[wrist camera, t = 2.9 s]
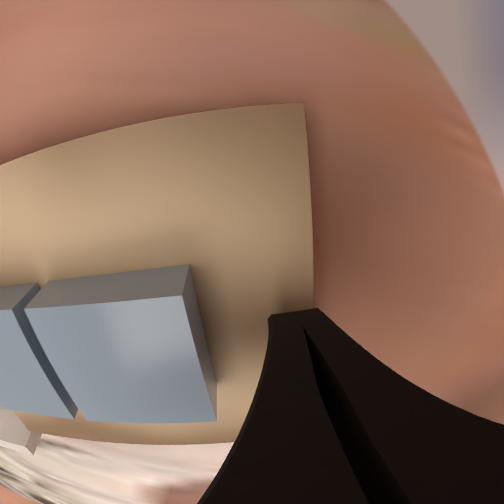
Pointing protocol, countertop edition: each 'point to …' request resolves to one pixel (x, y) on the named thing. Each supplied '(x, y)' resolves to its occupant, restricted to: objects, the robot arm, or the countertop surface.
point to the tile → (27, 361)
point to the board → (174, 237)
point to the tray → (16, 433)
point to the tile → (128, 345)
